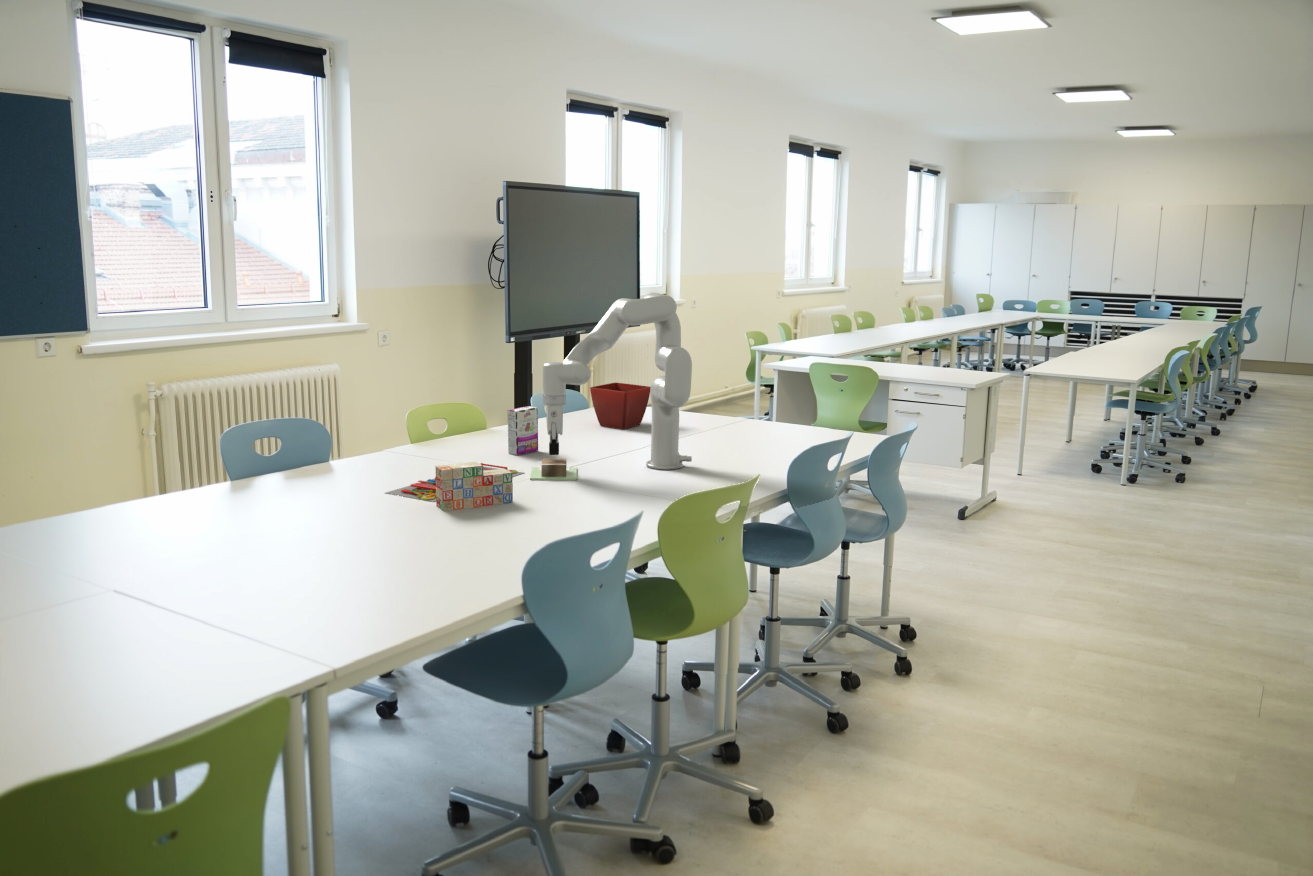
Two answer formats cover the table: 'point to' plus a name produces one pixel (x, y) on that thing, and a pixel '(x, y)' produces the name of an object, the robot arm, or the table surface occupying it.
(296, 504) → the table surface
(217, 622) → the table surface
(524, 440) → the candy bar box
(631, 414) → the plant pot
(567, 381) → the robot arm
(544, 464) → the walnut slab
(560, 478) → the green mat
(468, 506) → the stack of blocks
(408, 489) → the gear board
